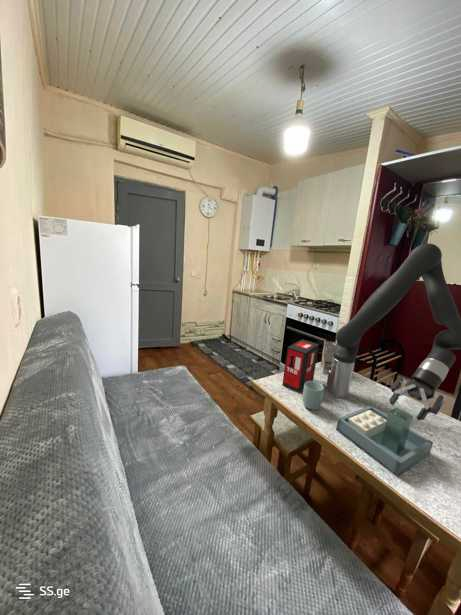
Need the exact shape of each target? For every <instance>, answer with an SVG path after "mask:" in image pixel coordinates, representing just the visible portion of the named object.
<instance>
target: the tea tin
mask: <svg viewBox="0 0 461 615" xmlns="http://www.w3.org/2000/svg"><path fill="white" fill-rule="evenodd" d="M387 415H388V418H387V421H386V425H385V429H384V433H383V437H382V441H381V444H382V445H383V446H385V447H386V448H387V449H389V450H390V451H392V452H393V453H395V454H397V453H399V452H400V451H402V450H404V447H405V443H406V440H407V436H408V433H409V429H411V425H412V420H413V418H414V416H413V414H410V413H408V412H406V411H404V410H403V409H401V408H399V407H396V408H393V409H390V410H389V411H388V414H387Z"/></svg>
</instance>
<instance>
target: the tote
mask: <svg viewBox="0 0 461 615" xmlns="http://www.w3.org/2000/svg"><path fill="white" fill-rule="evenodd" d="M368 410H371V411H373V412H374V413H375V414H377V415H379V416H381V417H382V418H383V419H385V420H387V418H388V414H386V413H385V412H382V411H381V410H379V409H377V408H376V407H374V406H373V405H367V406H366V407H364V408H361V409H359V410H356V411H353V412H351V413H347V414H346V415H343V416H341V417H338V418H337V423H336V428H335V430H336V431H337V432H338V433H339V434H341V435H342V436H343V437H344V438H346V439H347V440H349V441H350V442H351V443H352V444H354V445H355V446H356V447H357V448H359V449H360V450H362V452H364V453H365V454H367V455H368V456H369V458H372V459H373V460H374V461H376V462H377V463H378V464H379V465H381V467H383V468H385V469H386V470H387V471H389V473H391V474H392V475H394V476H395V477H399V476H401V475H402V474H403V473H405V472H407V471H408V470H410V469H411V468H412V467H414V466H415V465H416V464H418V463H420V462H421V461H423V460H424V459H425V458H427V457H428V456H430V453H431V451H432V447H433V444H434V442H433V441H431V440H429V439H428V438H426V437H425V436H423V435H422V434H420V433H418V432H416V431H414V430H412V429H411V428H410V429H409V433H408V436H407V440H406V443H405V447H404V450H402V451H400V452H399V453H397V454H395V453H393V452H392V451H390V450H389V449H387V448H386V447H385V446H383V445H382V444H381V441H382V437H383V433H384V431H382V432H380V433H378V434H376V435H374V436H372V437H370V438H369V437H367V436H366V435H364V434H363V433H362V432H360V431H359V430H357V429H356V428H355V427H353V426H352V425H350V424H349V423H348V419H349V418H351V417H353V416H356V415H358V414H361V413H363V412H366V411H368Z"/></svg>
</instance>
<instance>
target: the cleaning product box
mask: <svg viewBox="0 0 461 615" xmlns="http://www.w3.org/2000/svg"><path fill="white" fill-rule="evenodd" d="M319 347H320V344H319V343H316V342H313V341H309V340H306V339H301V340H298V341H297V342H294V343H293V344H291V345H289V346H288V347H287V349H286V354H285V355H286V356H285V363H284V364H285V365H284V368H283V369H284V370H283V378H282V384H281V386H282V387H285V388H287V389H289V390H290V391H293V392H295V393H296V392H297V394H300V393H301V392H302V391H303V389H304V384H305V382H307V381H314V377H315V372H316V364H317V358H318V355H319V354H318V353H319Z"/></svg>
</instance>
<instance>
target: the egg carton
mask: <svg viewBox="0 0 461 615" xmlns="http://www.w3.org/2000/svg"><path fill="white" fill-rule="evenodd" d="M386 421H387V420H385V419H383V418H382V417H381V416H379V415H377V414H375V413H374V412H373V411H371V410H368V411H366V412H363V413H361V414H358V415H356V416H353V417H351V418H349V419H348V423H349V424H350V425H352V426H353V427H355V428H356V429H357V430H359V431H360V432H362V433H363V434H364V435H366V436H367V437H369V438H370V437H372V436H374V435H376V434H378V433H380V432H382V431H384V429H385V425H386Z"/></svg>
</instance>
